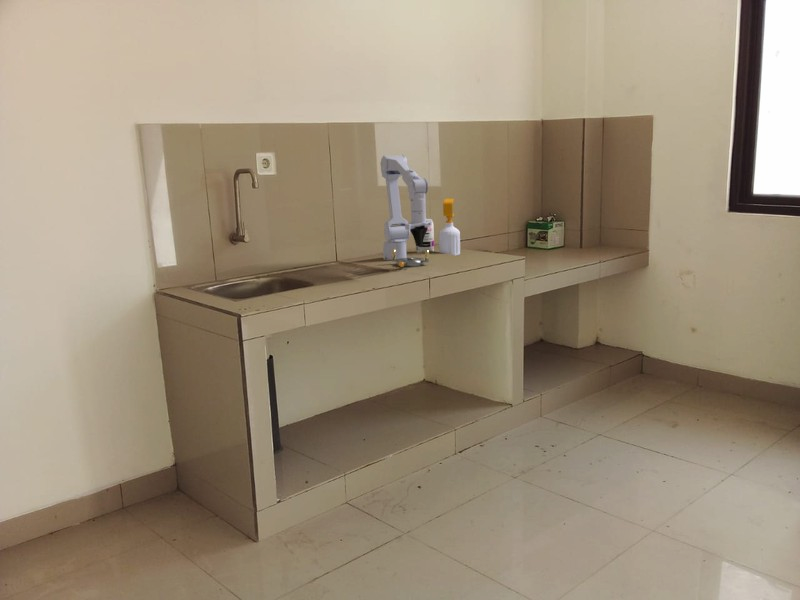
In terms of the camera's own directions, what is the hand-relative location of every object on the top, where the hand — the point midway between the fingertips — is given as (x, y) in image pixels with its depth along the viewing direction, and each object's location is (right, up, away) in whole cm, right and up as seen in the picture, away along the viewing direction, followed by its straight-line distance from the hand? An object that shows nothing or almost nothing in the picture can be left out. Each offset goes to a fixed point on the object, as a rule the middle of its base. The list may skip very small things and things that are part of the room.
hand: (419, 246), depth 263 cm
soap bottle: (+15, -1, +37) cm, 40 cm away
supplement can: (+4, 0, +45) cm, 45 cm away
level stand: (-4, -9, +7) cm, 12 cm away
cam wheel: (-4, -8, +5) cm, 10 cm away
